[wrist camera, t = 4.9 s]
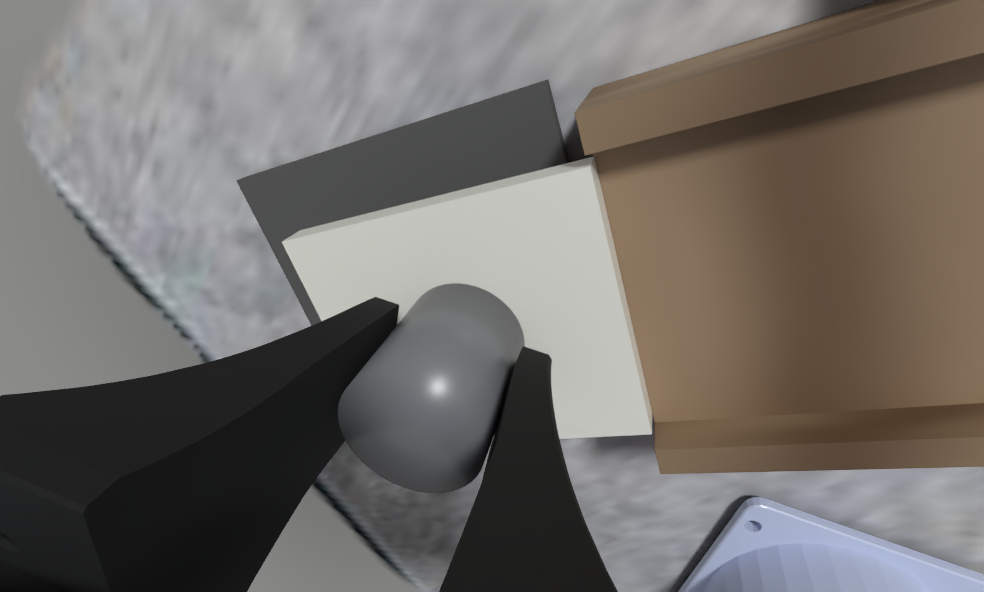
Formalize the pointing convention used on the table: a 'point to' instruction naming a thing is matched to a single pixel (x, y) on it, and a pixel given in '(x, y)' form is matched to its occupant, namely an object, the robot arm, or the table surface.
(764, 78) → the walnut case
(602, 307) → the cover plate
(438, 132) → the rubber mat
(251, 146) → the table surface
